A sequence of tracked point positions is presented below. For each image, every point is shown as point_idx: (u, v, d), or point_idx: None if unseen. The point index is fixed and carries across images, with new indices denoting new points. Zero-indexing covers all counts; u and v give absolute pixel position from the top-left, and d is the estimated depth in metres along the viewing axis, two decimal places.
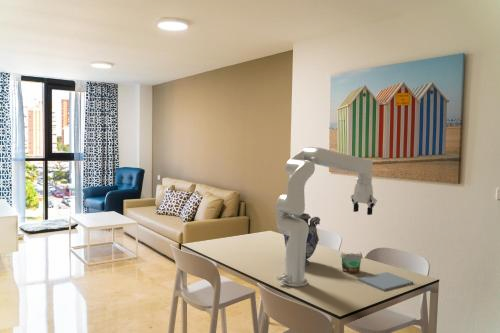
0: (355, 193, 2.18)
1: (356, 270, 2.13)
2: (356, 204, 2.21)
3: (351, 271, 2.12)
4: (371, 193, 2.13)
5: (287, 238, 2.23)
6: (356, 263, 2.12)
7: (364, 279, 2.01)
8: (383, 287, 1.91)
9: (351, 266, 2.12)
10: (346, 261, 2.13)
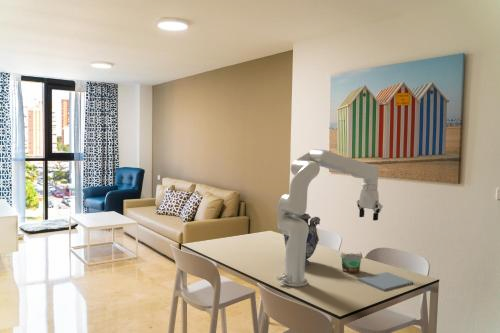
0: (361, 199, 2.19)
1: (356, 270, 2.13)
2: (362, 209, 2.22)
3: (351, 271, 2.12)
4: (377, 199, 2.13)
5: (287, 238, 2.23)
6: (356, 263, 2.12)
7: (364, 279, 2.01)
8: (383, 287, 1.91)
9: (351, 266, 2.12)
10: (346, 261, 2.13)
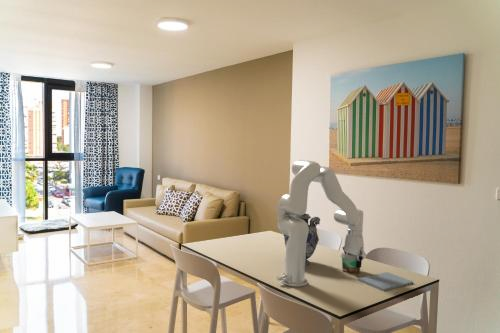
0: (346, 244, 2.15)
1: (356, 270, 2.13)
2: None
3: (351, 271, 2.12)
4: (362, 245, 2.10)
5: (287, 238, 2.23)
6: None
7: (364, 279, 2.01)
8: (383, 287, 1.91)
9: (351, 266, 2.12)
10: (346, 261, 2.13)
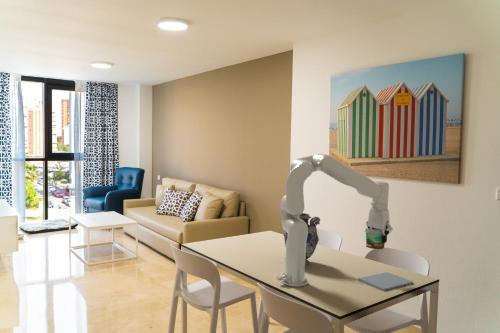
0: (370, 218, 2.04)
1: (381, 245, 2.02)
2: None
3: (376, 246, 2.02)
4: (388, 219, 1.99)
5: None
6: None
7: (364, 279, 2.01)
8: (383, 287, 1.91)
9: (376, 241, 2.02)
10: (371, 236, 2.02)
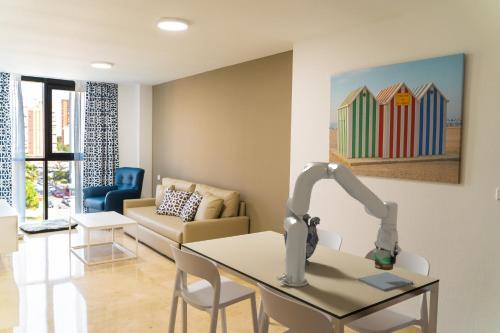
0: (378, 239, 2.01)
1: (390, 266, 1.99)
2: None
3: (385, 267, 1.99)
4: (396, 240, 1.96)
5: None
6: None
7: (364, 279, 2.01)
8: (383, 287, 1.91)
9: (385, 262, 1.98)
10: (380, 257, 1.99)
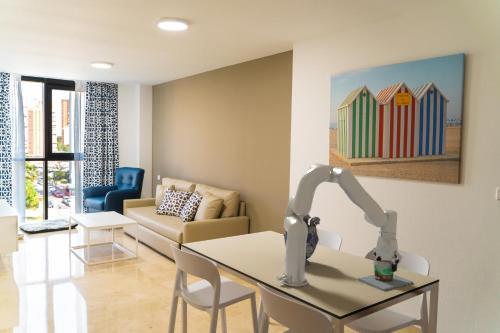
0: (378, 247, 2.02)
1: (390, 278, 1.99)
2: (379, 258, 2.04)
3: (385, 279, 1.99)
4: (396, 248, 1.96)
5: None
6: (390, 270, 1.98)
7: (364, 279, 2.01)
8: (383, 287, 1.91)
9: (385, 274, 1.98)
10: (380, 268, 1.99)
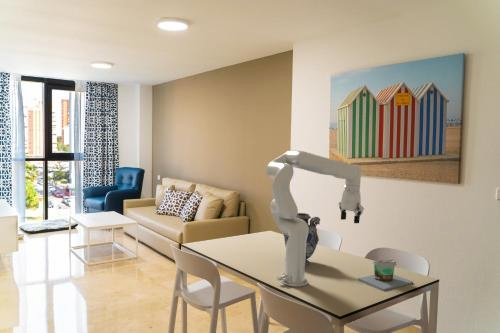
0: (342, 200, 2.10)
1: (390, 278, 1.99)
2: (344, 212, 2.12)
3: (385, 279, 1.99)
4: (359, 201, 2.04)
5: (287, 238, 2.23)
6: (390, 270, 1.98)
7: (364, 279, 2.01)
8: (383, 287, 1.91)
9: (385, 274, 1.98)
10: (380, 268, 1.99)
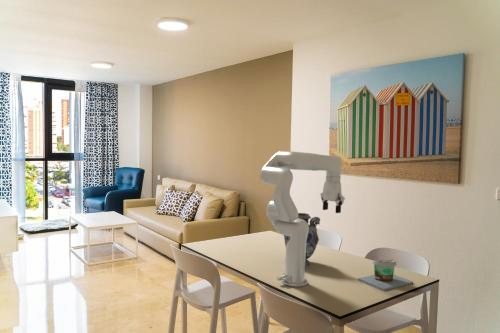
0: (324, 191, 2.15)
1: (390, 278, 1.99)
2: (325, 202, 2.17)
3: (385, 279, 1.99)
4: (339, 191, 2.09)
5: (287, 238, 2.23)
6: (390, 270, 1.98)
7: (364, 279, 2.01)
8: (383, 287, 1.91)
9: (385, 274, 1.98)
10: (380, 268, 1.99)
